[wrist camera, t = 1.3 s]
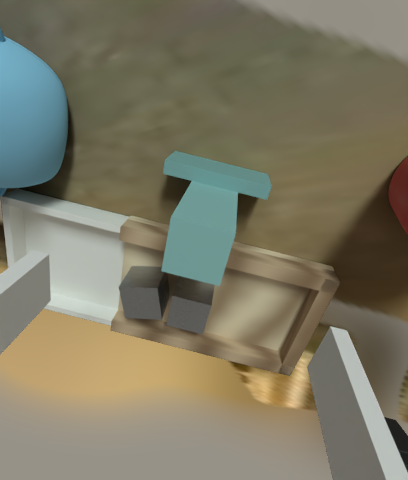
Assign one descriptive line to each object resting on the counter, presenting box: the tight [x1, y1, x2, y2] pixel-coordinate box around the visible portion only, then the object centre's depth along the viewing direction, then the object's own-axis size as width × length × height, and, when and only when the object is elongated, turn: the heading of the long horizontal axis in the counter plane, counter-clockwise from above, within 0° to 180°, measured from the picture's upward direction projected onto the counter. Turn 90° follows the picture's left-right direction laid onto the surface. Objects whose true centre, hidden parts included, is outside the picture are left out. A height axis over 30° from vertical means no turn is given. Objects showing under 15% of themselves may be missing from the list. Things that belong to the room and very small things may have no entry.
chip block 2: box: [166, 276, 215, 334], centre depth 32 cm, size 4×4×4 cm
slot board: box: [111, 216, 341, 376], centre depth 33 cm, size 22×14×3 cm, turn 77°
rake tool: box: [161, 151, 272, 286], centre depth 24 cm, size 5×9×12 cm, turn 77°
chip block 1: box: [119, 266, 170, 320], centre depth 32 cm, size 4×4×4 cm
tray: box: [0, 188, 129, 326], centre depth 33 cm, size 12×14×2 cm
